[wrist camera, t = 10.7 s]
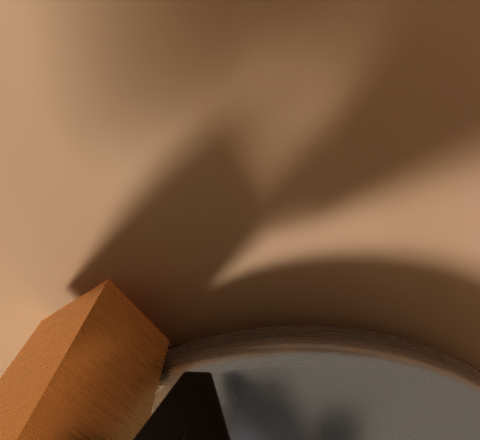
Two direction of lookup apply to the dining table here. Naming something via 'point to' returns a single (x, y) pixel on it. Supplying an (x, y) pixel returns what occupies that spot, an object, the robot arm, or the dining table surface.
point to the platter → (232, 380)
